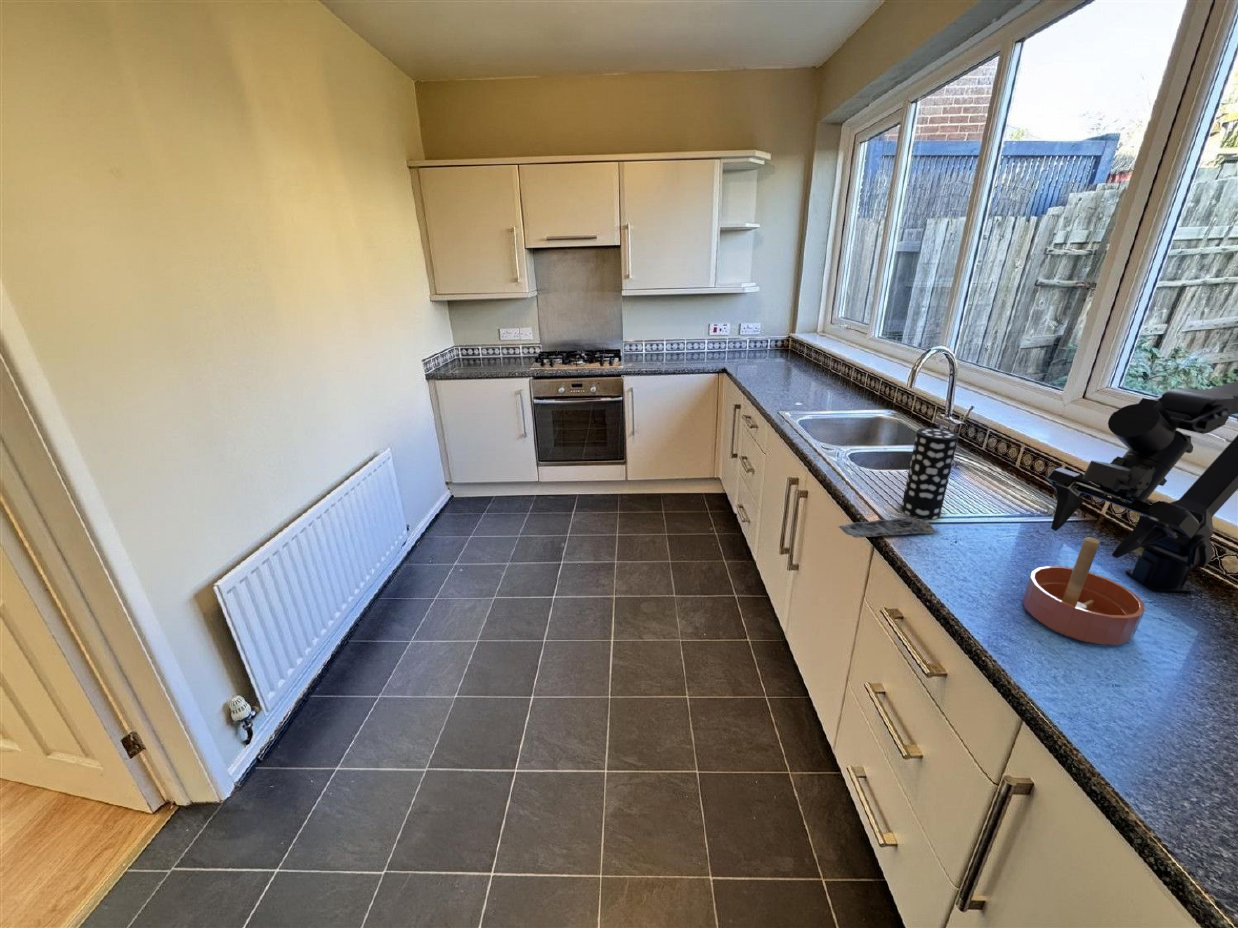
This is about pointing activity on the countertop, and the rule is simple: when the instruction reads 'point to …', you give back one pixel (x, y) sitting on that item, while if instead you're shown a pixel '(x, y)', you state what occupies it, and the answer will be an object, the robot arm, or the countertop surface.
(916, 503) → the spotted tube
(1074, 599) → the stirrer
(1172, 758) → the countertop surface
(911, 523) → the driftwood
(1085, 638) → the bowl
